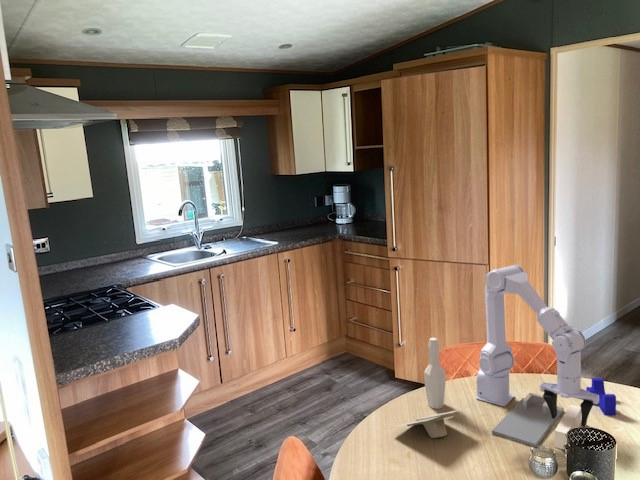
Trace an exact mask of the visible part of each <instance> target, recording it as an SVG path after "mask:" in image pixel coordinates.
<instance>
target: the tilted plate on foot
mask: <svg viewBox="0 0 640 480" xmlns="http://www.w3.org/2000/svg"><path fill="white" fill-rule="evenodd" d="M463 410H464V408H463V409H456V410H451V411H447V412H442V413H436V414H431V415H427V416H424V417H420V418H418V419H415V421H409V422H405V423H401V424H399V425H396V426H392V427H391V429H394V428H398V427H402V426H403V427H404V426H407V427H410V426H412V427H413V426H416V425H417V426H418V425H423V426H424V428H425V430H426V432H427V433H428V435H429V437H430V439H435V438H436V439H437V438H441V437H444V436H446V435H448V431H447V427H446V425H445V420H449V419H451V418H454V417H455V414H454V413H456V412H459V411H463Z"/></svg>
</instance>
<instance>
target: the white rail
mask: <svg viewBox="0 0 640 480" xmlns="http://www.w3.org/2000/svg"><path fill="white" fill-rule="evenodd" d="M581 420H582V413H581V406H578V405H573V404H569V406H568V407H567V410H566V411H565V412H564V414H563V416H562V417H561V419H560V421H559V422H558V424H557V427H555V430H554V448H556V449H559V450H560V449H561V450H562V451H563V450H564V448H563V444H564V442H565V440H566V437H565V434H566V432H567V431H569V430H570V429H573V428H575V427H579V428H580V426H581ZM564 451H565V450H564Z"/></svg>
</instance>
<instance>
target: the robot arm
mask: <svg viewBox="0 0 640 480" xmlns="http://www.w3.org/2000/svg"><path fill="white" fill-rule="evenodd" d="M485 281H486V283H485V287H484V296H485V297H484V298H485V299H484V300H485V319H486V322H485V323H486V339H487V341H486V344H484V346H483V347H482V349H481V350H480V357H479V360H478V365H479V367H480V369H479V370H478V372H477V376H476V397H475V398H476V400H479V401H484V402H487V403H491V404H493V405H498V406H501V407H506V406H507V405H508V404H509V403H510V402H511V401H512V400H513V399H514V398H515V394H511V393H510V373H511V371H512V368H513V367H514V366H515V358H514V354H513V350H512V349H513V348H512V346H511V345H509V344H508V343H506V342H507V340H506V339H507V337H506V335H507V334H506V314H505V295H506V294H513V295H518V296H519V297H520V298H521V299H522V301H524V302H525V304H526V305H528V307H529V308H530V309H531V310H532V311H534V313H535V314H536V321H537V323H538V324H539V325H540V327H541V328H542V329H543V330H544V331H545V333H546V334H547V335H548V336H549V337H550V339H551V340H552V341H551V345H552V348H553V350H554V352H555V357H556V371H557V372H556V383H551V382H543V381H542V382H541V383H540V384H539V385H540V386H539V391H540V392H543V395H542V396H543V398H544V400H545V401H546V403H547V405H548V407H549V410H550V413H551V417H552V419H555V417H556V416H557V406H558V405H557V402H558V395H559V396H560V397H561V398H564V399H569V398H570V399H572V398H573V399H576V400H577V399H578V400H581V401H582V402H581V403H580V406H579V407H581V425H580V426H581V427H582V428H584V427H586V425H587V422H588V418H589V415H590V413H591V410H592V408H593V406H595V405H594V404H598V403H599V395H597V394H594V393H591V392H589V391H586V389H583V388H581V385H582V384H581V383H582V382H581V378H582V376H581V375H582V371H581V369H582V368H581V367H582V363H581V360H582V357H581V356H582V351H581V350H583V349H584V348H585V347H586V344H587V343H586V342H587V341H586V337H585V336H584V334H583V333H582V331H581V330H580V329H578V328H574V327H573V326H572V325H569V324H568V323H567V321H566V320H565V319H564V318H563V316H561V314H560V312H559V311H558V310H557V309H556V308H553V307H549V306H547V304H546V303H545V302H544V301H543V298H541V296H540V295H539V294H538V292H537V291H536V289H535V288H534V287H533V286H532V284H531V283H530V282H529V274H528V273H527V272H526V271H525V270H524V268H523V267H522V266H521V265H519V264H511V265H509V266H505V267H501V268H497V269H495V268H493V269H492V270H490V271H489V272H487V273H486V274H485Z"/></svg>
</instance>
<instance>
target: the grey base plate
mask: <svg viewBox="0 0 640 480" xmlns="http://www.w3.org/2000/svg"><path fill="white" fill-rule="evenodd" d="M564 411H565V409H564V407H561V406H558V405H557V416H556V417H555V419H552V417H551V413H550V410H549V407H548V405H547V403H546V401H545V400H544V398H543V395H540V394H538V393H537V394H536V393H533V392H532V393H531V392H529V393H528V394H527V395H526V396H525V397H522V398H521V399H520V400H519V401H518V403H516V405H515V406H514V407H513V408H512V409H511V410H510V411H509V412H508V413H507V414H506V415H505V416H504V417H503V418H502V419H501V420H500V422H498V423H497V425H496V426H494V427H493V429H492V430H491V434H493V435H494V436H498V437H501V438H504V439H507V440H511V441H514V442H518V443H521V444H522V445H527V446H530V447H533V448H536V447H537V446H538V445H539V444H540V442H541V441H542V440H543V438H544V437H545V436H546V434H547V433H548V432H549V431H550V429H551V428H552V427H553V426H554V424H555V423H556V421H558V419H559V418H560V417H561V415H562V414H563V413H564Z"/></svg>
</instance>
